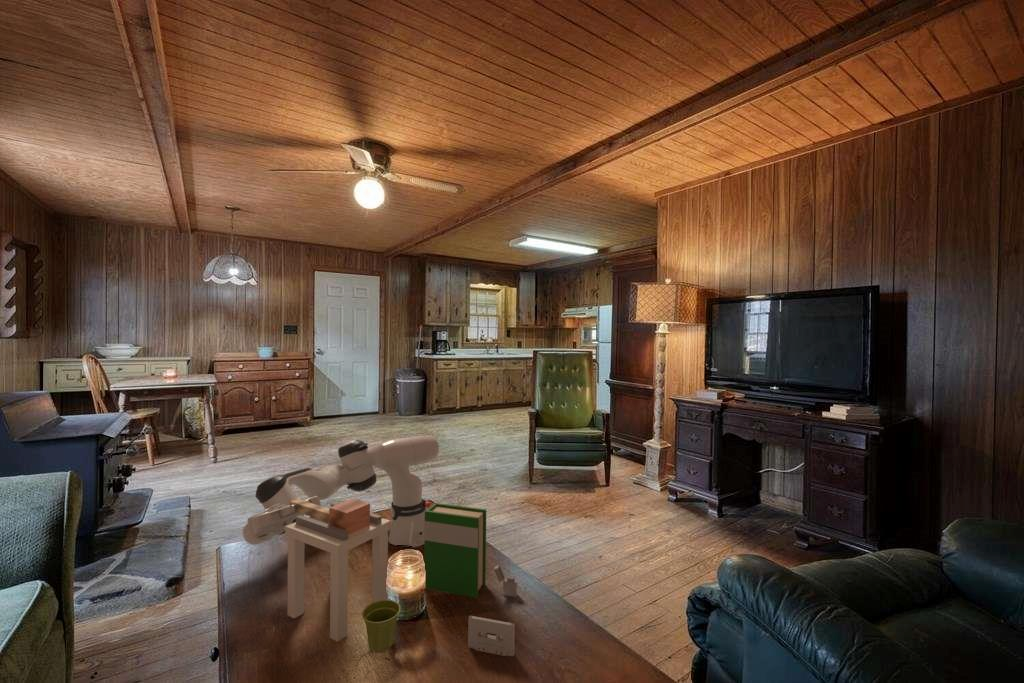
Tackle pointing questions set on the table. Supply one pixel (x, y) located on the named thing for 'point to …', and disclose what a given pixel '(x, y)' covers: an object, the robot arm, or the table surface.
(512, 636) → the cassette
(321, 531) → the stand
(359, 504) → the mallet
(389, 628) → the plant pot
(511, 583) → the lighter
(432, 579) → the hardback book
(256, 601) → the table surface
